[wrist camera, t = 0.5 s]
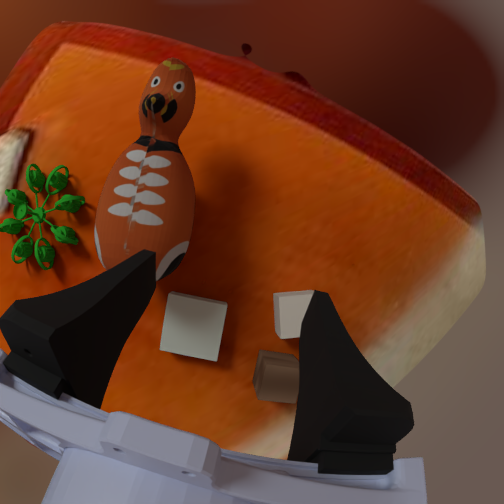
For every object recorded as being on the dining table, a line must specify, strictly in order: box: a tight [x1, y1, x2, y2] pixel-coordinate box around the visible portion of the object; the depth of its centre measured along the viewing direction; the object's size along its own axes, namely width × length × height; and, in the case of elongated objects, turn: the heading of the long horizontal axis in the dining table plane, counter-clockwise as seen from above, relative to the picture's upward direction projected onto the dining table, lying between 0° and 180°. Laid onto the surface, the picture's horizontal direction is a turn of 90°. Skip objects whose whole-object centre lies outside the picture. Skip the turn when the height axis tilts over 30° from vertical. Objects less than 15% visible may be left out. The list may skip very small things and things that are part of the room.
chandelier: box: [0, 164, 85, 270], centre depth 33 cm, size 15×15×7 cm
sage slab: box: [160, 291, 227, 361], centre depth 37 cm, size 7×7×3 cm
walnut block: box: [253, 350, 299, 404], centre depth 36 cm, size 4×4×6 cm
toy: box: [95, 58, 195, 281], centre depth 31 cm, size 10×23×15 cm, turn 171°
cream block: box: [273, 290, 314, 339], centre depth 38 cm, size 5×5×4 cm
